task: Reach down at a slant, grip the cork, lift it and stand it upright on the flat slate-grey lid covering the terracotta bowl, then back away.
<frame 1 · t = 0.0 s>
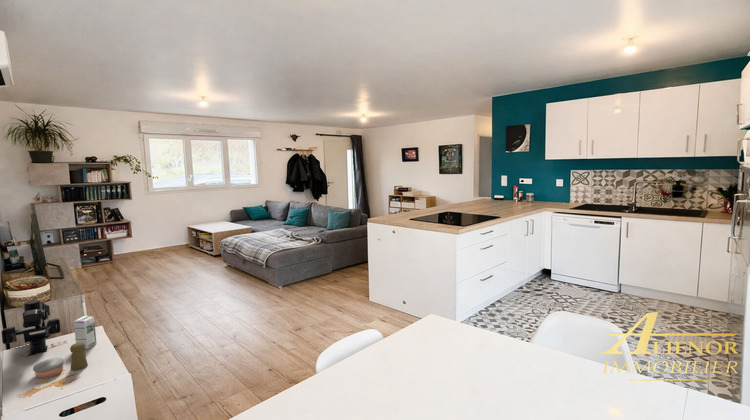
hand: (30, 337, 155), 17 cm above the table, tool horizontal, fingers open, 9 cm apart
bowl: (49, 373, 158), on the table
cork: (79, 367, 162), on the table
lid: (48, 364, 157), on the bowl, point 3 cm above the table
syrup box: (86, 346, 181), on the table
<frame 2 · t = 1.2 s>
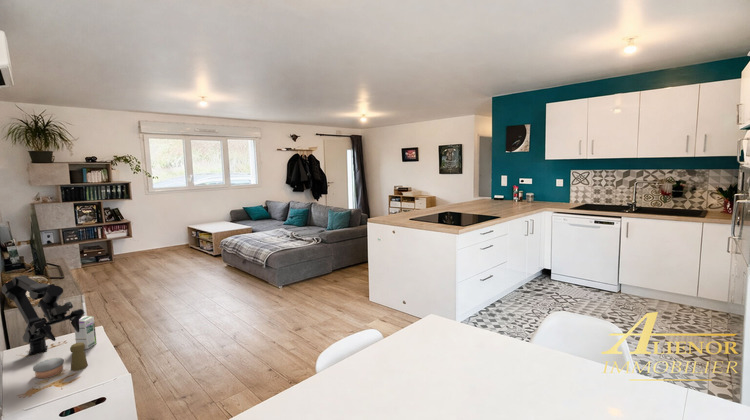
hand: (67, 336, 164), 13 cm above the table, tool tilted 45°, fingers open, 9 cm apart
nothing on the table moved.
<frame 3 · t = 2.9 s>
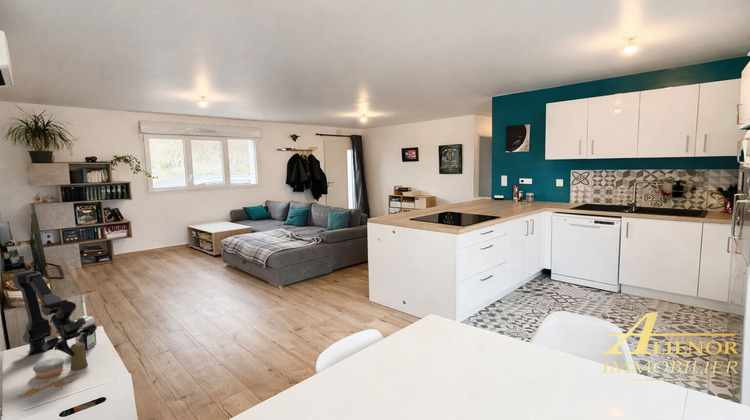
hand: (79, 352, 161), 7 cm above the table, tool tilted 45°, fingers closed on cork, 5 cm apart
cork: (79, 367, 162), on the table, touching gripper
everything else where it was.
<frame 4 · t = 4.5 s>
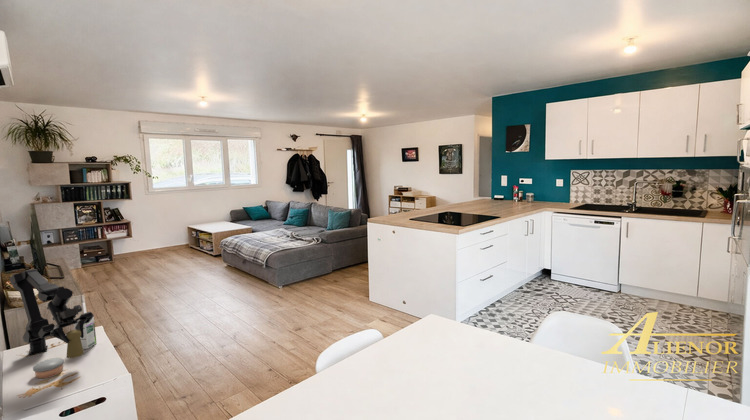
hand: (75, 340, 160), 13 cm above the table, tool tilted 45°, fingers closed on cork, 5 cm apart
cork: (75, 355, 161), point 6 cm above the table, touching gripper
everything else where it was.
when the fingers open (12 cm above the table, at t = 6.0 s): cork stays where it is, resting on lid.
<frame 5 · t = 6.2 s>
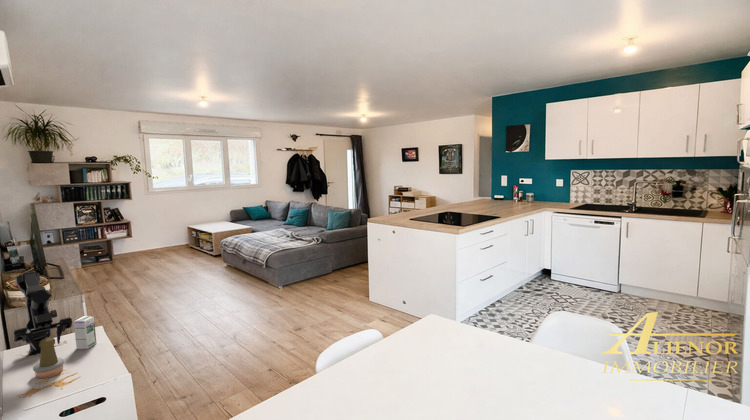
hand: (47, 346, 155), 13 cm above the table, tool tilted 45°, fingers open, 7 cm apart
cork: (48, 364, 157), point 4 cm above the table, touching lid
everything else where it was.
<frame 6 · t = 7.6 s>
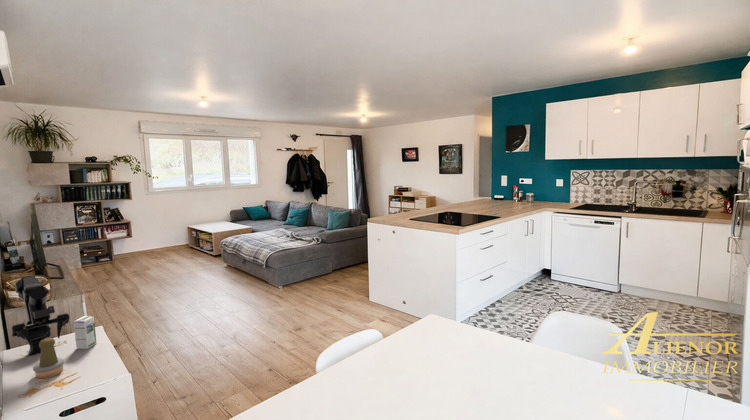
hand: (45, 341, 159), 13 cm above the table, tool tilted 45°, fingers open, 9 cm apart
nothing on the table moved.
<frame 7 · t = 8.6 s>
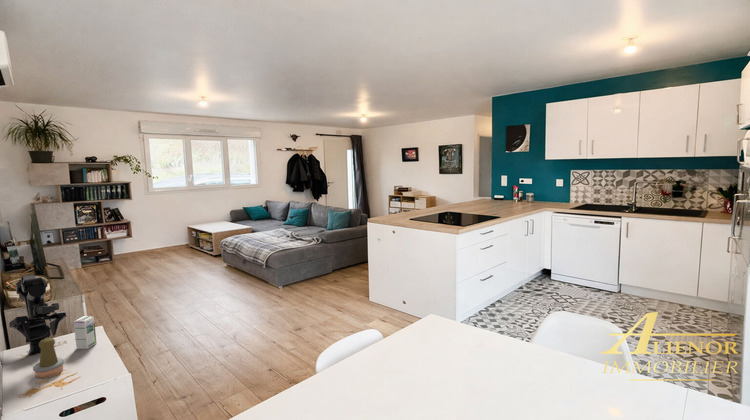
hand: (42, 337, 162), 13 cm above the table, tool tilted 35°, fingers open, 9 cm apart
nothing on the table moved.
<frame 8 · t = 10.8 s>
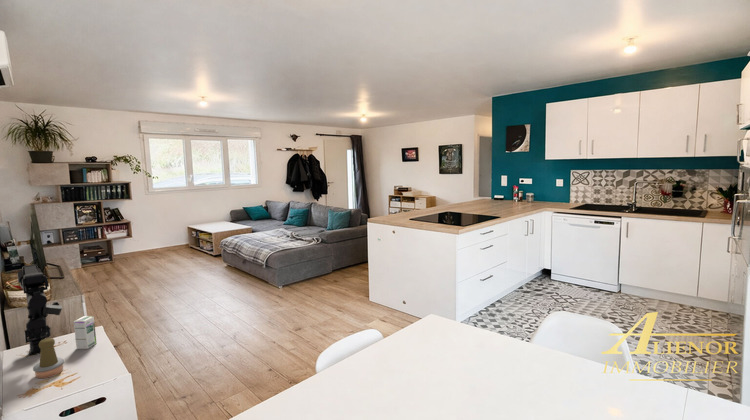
hand: (39, 335, 164), 13 cm above the table, tool pointing down, fingers open, 9 cm apart
nothing on the table moved.
at the end: cork 0.1 cm off-centre on the lid, point 4.0 cm above the lid's base; cork tilted 0°; the gripper is holding nothing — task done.
